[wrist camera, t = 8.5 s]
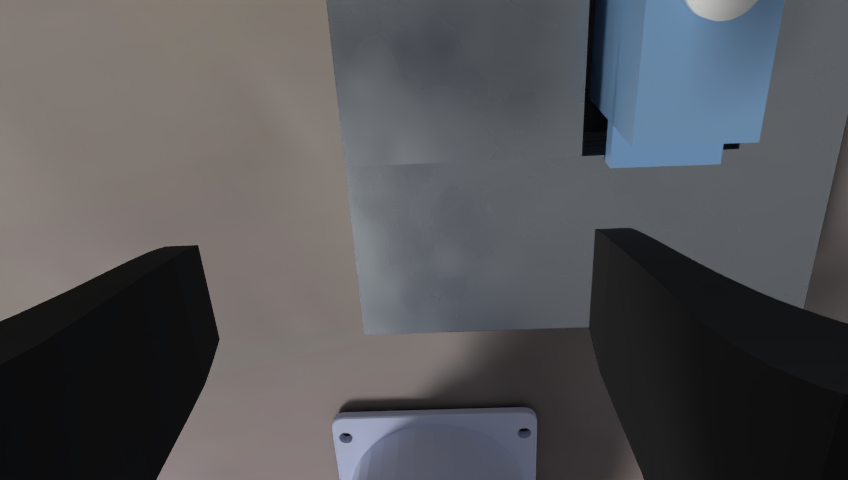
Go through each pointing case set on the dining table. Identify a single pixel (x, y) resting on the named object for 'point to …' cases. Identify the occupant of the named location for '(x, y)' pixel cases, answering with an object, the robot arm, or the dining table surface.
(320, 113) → the dining table surface
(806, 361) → the robot arm
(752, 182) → the plate
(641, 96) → the block
